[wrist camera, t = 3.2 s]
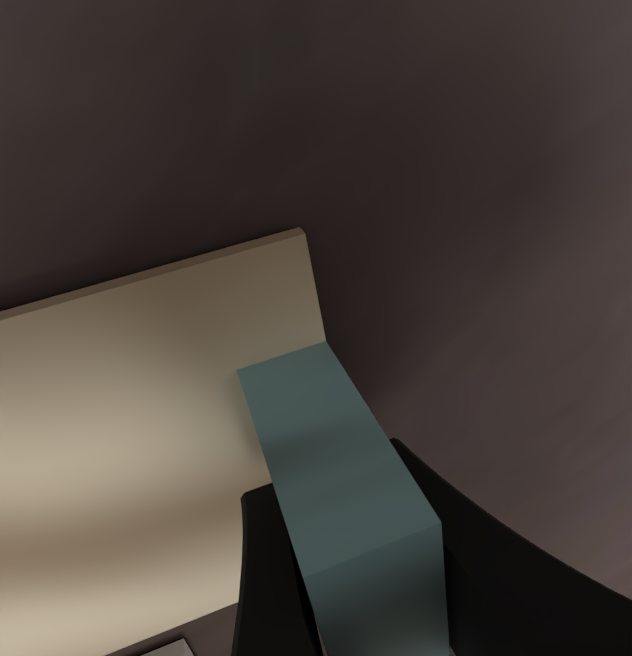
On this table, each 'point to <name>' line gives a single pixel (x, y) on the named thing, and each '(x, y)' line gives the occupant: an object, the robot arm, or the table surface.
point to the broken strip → (172, 650)
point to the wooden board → (199, 463)
